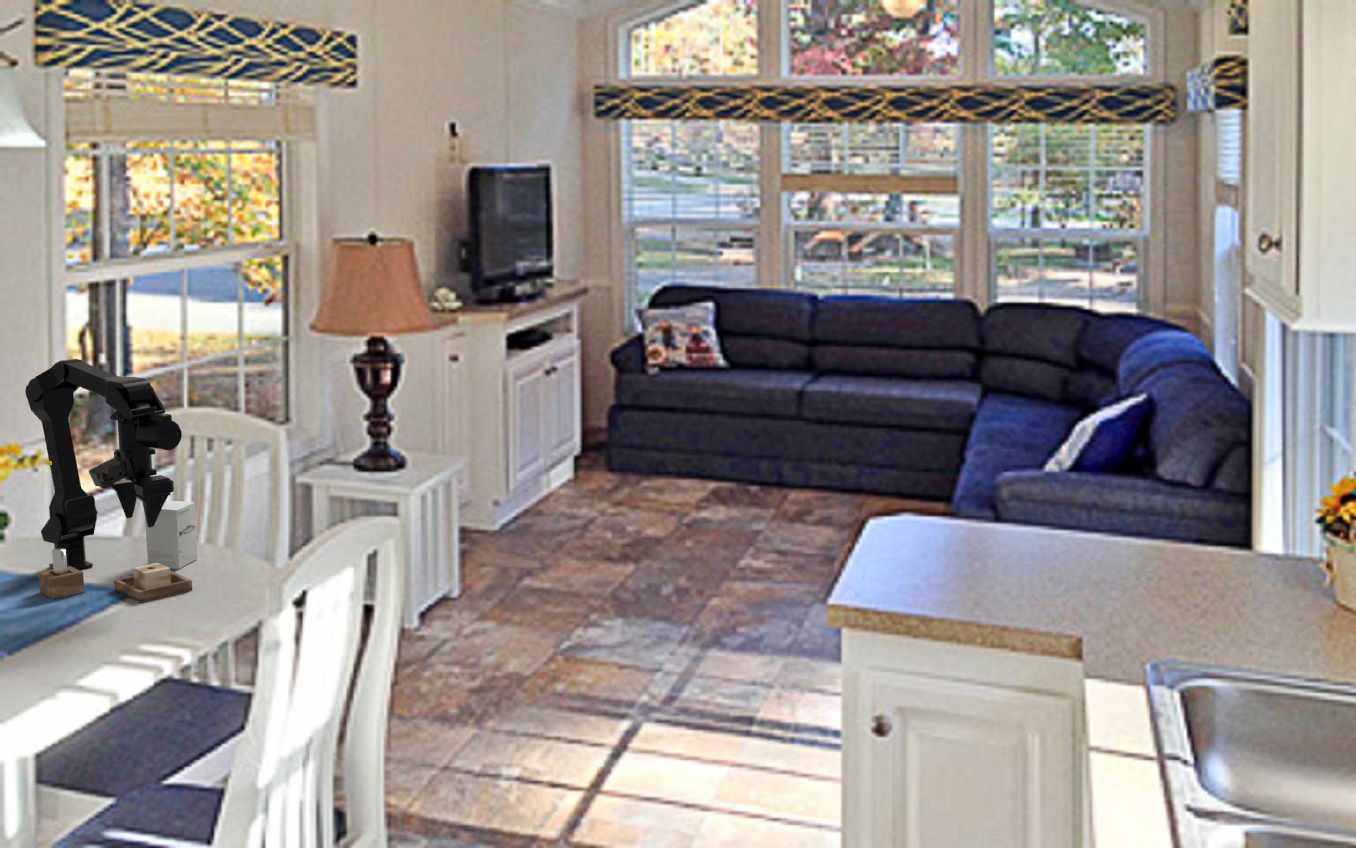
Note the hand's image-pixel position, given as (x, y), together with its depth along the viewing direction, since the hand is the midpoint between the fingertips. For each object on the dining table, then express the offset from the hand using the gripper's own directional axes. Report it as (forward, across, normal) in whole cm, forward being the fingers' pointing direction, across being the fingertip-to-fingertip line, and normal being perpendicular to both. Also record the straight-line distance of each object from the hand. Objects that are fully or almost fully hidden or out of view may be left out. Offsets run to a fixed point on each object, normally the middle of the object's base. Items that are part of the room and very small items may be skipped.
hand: (139, 522), depth 262 cm
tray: (+13, +4, 0) cm, 14 cm away
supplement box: (+13, -10, +11) cm, 20 cm away
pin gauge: (+13, -7, -13) cm, 20 cm away
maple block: (+12, +4, 0) cm, 13 cm away
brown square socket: (+13, -7, -13) cm, 20 cm away
